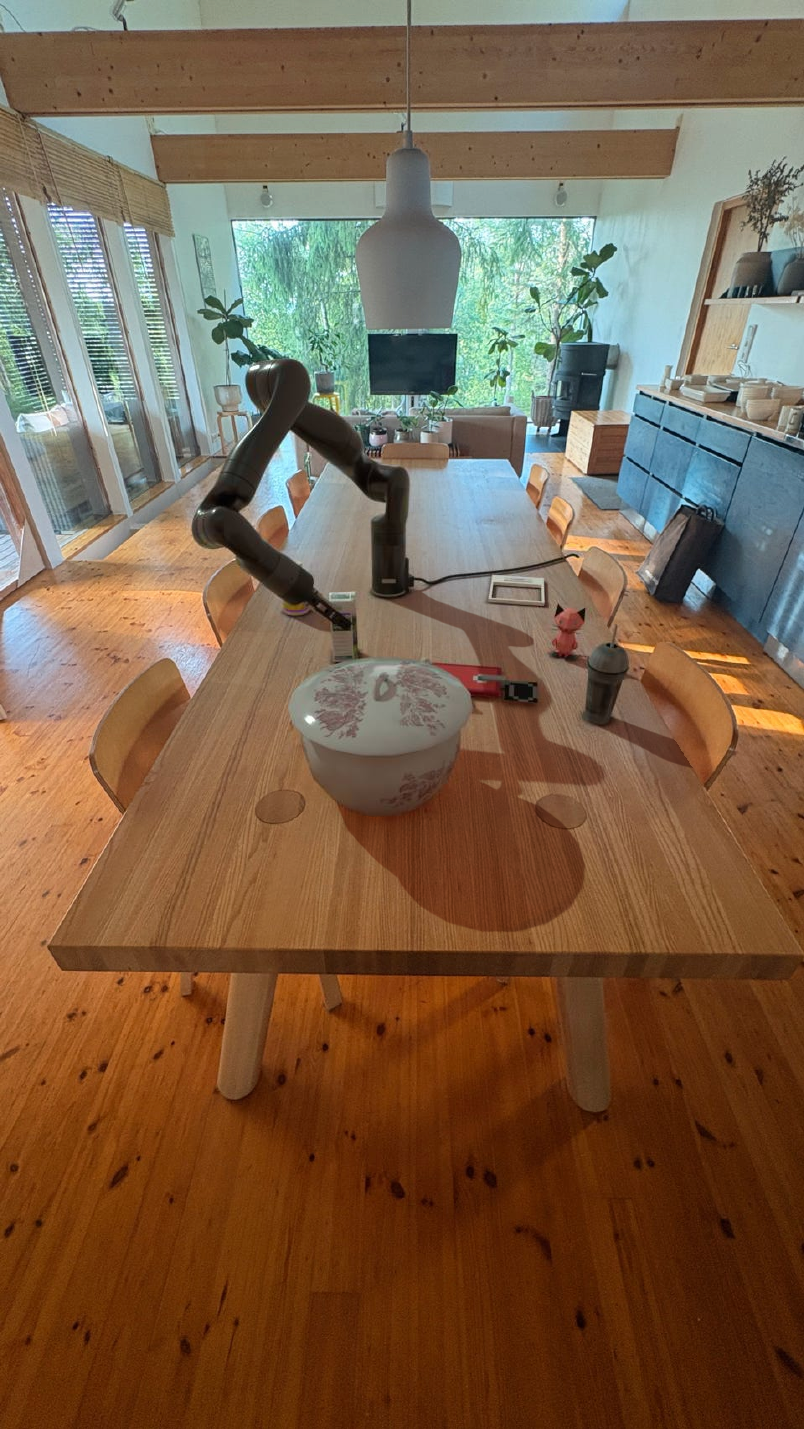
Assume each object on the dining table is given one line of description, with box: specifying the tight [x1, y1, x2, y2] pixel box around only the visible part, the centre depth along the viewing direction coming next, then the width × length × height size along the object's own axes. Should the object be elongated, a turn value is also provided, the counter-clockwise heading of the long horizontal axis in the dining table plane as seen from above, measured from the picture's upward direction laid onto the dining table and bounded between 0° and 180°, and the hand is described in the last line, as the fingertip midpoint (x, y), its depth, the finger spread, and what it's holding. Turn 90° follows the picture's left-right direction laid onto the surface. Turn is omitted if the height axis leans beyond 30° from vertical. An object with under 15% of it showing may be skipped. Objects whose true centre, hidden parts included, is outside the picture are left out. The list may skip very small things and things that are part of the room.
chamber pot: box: [287, 656, 474, 817], centre depth 96 cm, size 28×28×21 cm
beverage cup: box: [584, 623, 630, 725], centre depth 113 cm, size 7×7×20 cm
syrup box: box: [328, 590, 359, 663], centre depth 136 cm, size 6×6×14 cm
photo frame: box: [487, 574, 546, 607], centre depth 171 cm, size 15×1×18 cm
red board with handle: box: [431, 661, 539, 704], centre depth 128 cm, size 30×3×15 cm
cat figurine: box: [551, 603, 587, 661], centre depth 137 cm, size 7×7×12 cm
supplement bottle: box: [282, 559, 310, 617], centre depth 157 cm, size 7×7×13 cm
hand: (340, 619), depth 135 cm, fingers open, 8 cm apart
